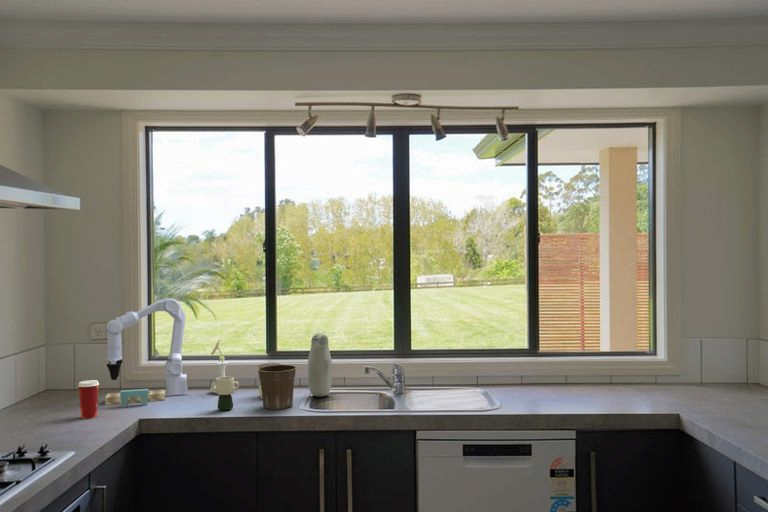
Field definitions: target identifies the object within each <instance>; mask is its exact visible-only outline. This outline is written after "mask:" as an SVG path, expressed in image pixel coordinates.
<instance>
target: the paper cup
mask: <svg viewBox="0 0 768 512" xmlns="http://www.w3.org/2000/svg"><path fill="white" fill-rule="evenodd" d="M99 385H100V383H99V381H98V380H97V379H96V380H95V379H89V380H82V381H79V383H78V385H77V387H78V391H79V392H78V393H79V406H80V417H81V419H82V420H90V419H94V418H97V417H98V404H99V403H98V402H99V401H98V400H99Z"/></svg>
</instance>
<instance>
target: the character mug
mask: <svg viewBox="0 0 768 512" xmlns="http://www.w3.org/2000/svg"><path fill="white" fill-rule="evenodd" d="M239 383H240V382H239V381H235V378H234V377H233V376H225V377H220V376H219V377H217V378H216V379H215V382H212V383H211V387H210V388H211V390H212V391H216V392H217V393H216V394H217V395H219V396H218V398H217V399H218V400H217V409H218V410H221V411H228V410H230V409H233V408H234V402H233V395H232V394H234V392H235V391H237V390H239V387H240V385H239ZM214 385H216V389H214ZM234 386H235V388H234Z"/></svg>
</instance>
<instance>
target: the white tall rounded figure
mask: <svg viewBox="0 0 768 512" xmlns="http://www.w3.org/2000/svg"><path fill="white" fill-rule="evenodd" d="M310 343H311V345H310V350H309V353H308V358H307V377H308V378H307V381H308V382H307V383H308V390H309V392H310V394H311V395H312V396H314V397H318V398H321V397H326V396H327V395H329V393H330V392H331V389H332V373H333V372H332V367H333V366H332V365H333V363H332V362H333V361H332V356H331V351H330V346H329V339H328V336H327V335H326V334H325V333H315V334H313V335H312V338H311V341H310Z"/></svg>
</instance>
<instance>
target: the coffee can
mask: <svg viewBox="0 0 768 512" xmlns="http://www.w3.org/2000/svg"><path fill="white" fill-rule="evenodd" d="M271 365H282V363H275V362H273V363H271V362H270V363H262V364H259V365H258V366H257V367H258V368H260V367H264V366H271ZM258 393H259V394H258V398H259V399H262V390H261V382H260V379H259V378H258Z"/></svg>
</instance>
